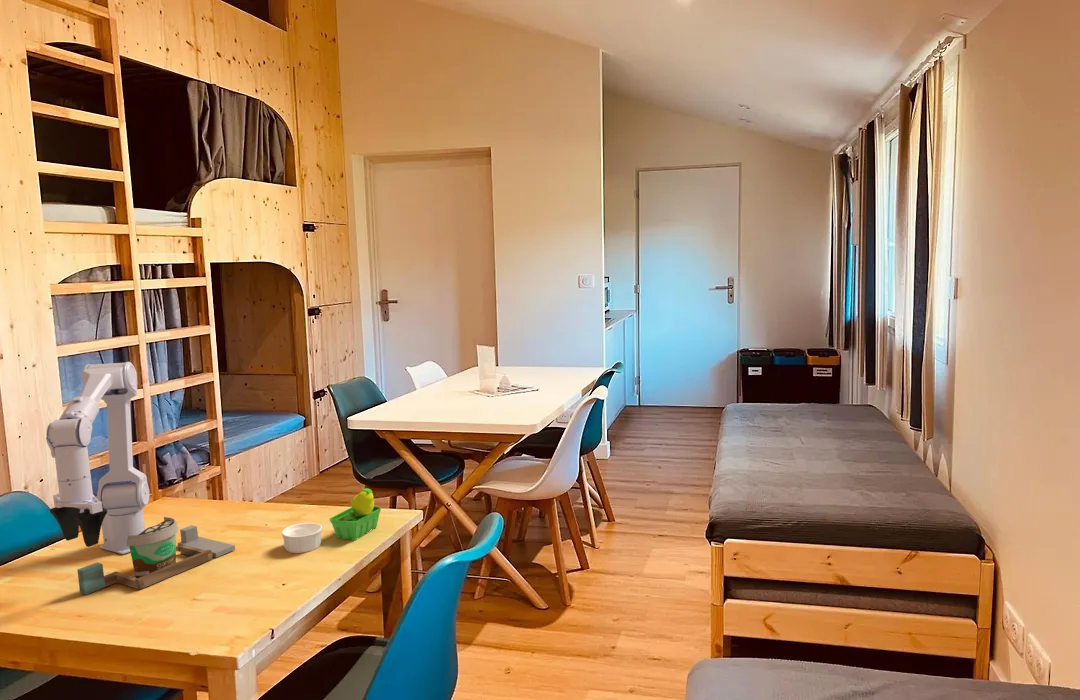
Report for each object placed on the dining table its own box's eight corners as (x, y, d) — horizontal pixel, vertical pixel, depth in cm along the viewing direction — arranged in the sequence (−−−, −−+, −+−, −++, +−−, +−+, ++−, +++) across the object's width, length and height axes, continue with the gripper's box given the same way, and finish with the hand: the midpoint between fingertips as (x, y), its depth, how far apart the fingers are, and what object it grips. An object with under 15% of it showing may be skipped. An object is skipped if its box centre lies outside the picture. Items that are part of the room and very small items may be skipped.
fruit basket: (358, 523, 188) (355, 479, 187) (388, 527, 185) (385, 482, 184) (329, 540, 178) (325, 493, 177) (360, 544, 175) (357, 497, 173)
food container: (156, 583, 157) (151, 537, 156) (130, 582, 158) (125, 536, 157) (194, 559, 169) (190, 516, 168) (170, 558, 170) (165, 516, 169)
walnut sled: (80, 592, 154) (77, 569, 153) (184, 551, 174) (182, 530, 173) (108, 602, 148) (105, 578, 148) (212, 559, 168) (210, 537, 168)
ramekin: (329, 539, 178) (327, 522, 178) (314, 554, 170) (312, 536, 169) (293, 540, 179) (291, 522, 179) (276, 554, 170) (275, 536, 170)
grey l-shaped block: (177, 547, 176) (176, 530, 176) (197, 539, 181) (195, 523, 180) (216, 557, 169) (214, 540, 169) (235, 549, 174) (233, 532, 173)
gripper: (34, 478, 152) (42, 542, 154) (72, 487, 145) (81, 554, 146) (70, 469, 158) (78, 531, 160) (109, 477, 151) (116, 542, 152)
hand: (82, 541), depth 154 cm, fingers open, 7 cm apart
